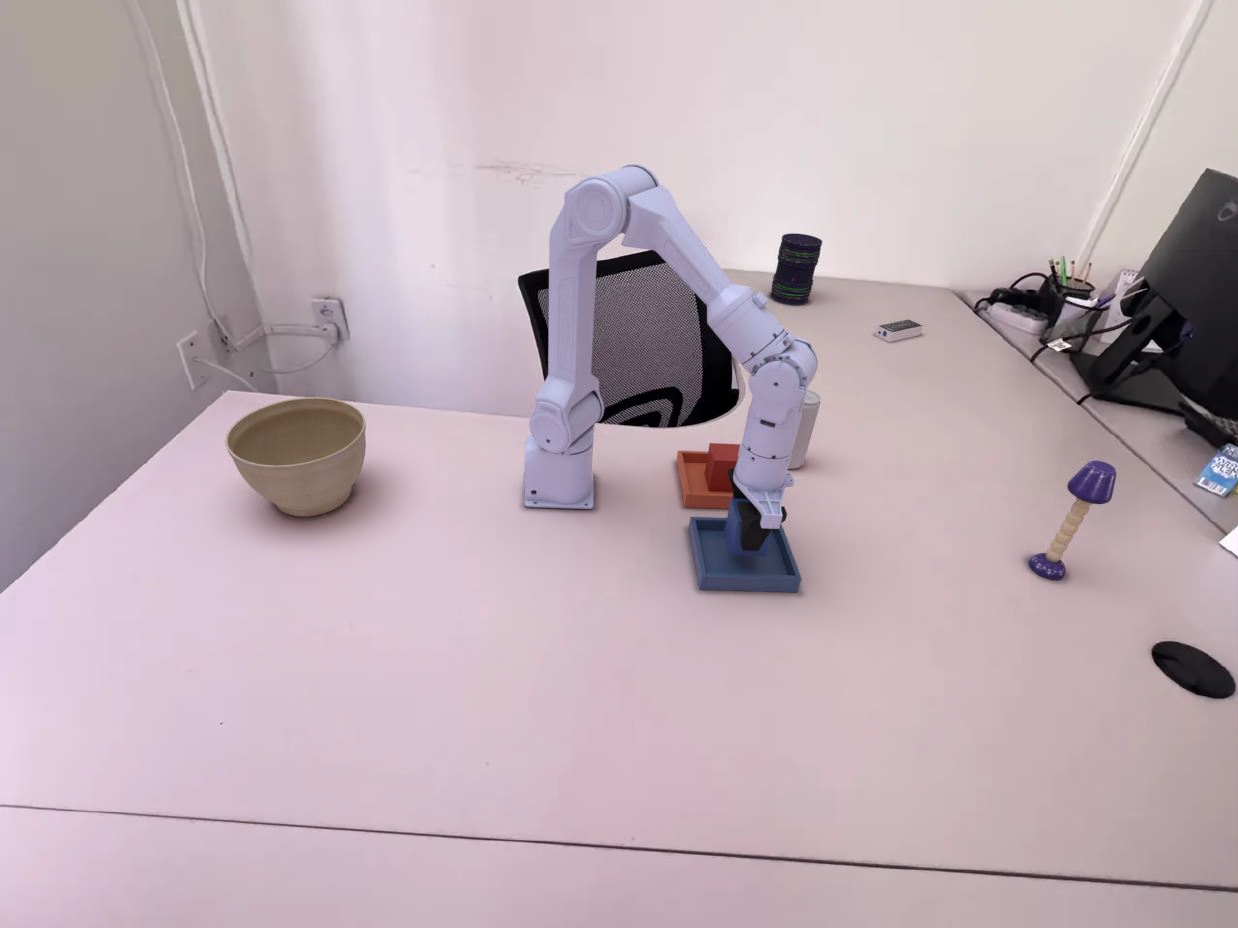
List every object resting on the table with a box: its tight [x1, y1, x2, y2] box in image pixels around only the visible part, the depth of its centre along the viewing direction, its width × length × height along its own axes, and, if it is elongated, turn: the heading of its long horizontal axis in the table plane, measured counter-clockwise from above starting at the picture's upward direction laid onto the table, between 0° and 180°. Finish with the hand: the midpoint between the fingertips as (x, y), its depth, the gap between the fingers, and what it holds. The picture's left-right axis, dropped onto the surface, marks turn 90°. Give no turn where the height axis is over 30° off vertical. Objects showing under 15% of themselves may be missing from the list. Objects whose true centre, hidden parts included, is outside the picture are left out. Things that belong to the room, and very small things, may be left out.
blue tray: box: [688, 516, 802, 593], centre depth 83 cm, size 12×11×2 cm
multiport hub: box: [874, 319, 924, 343], centre depth 151 cm, size 4×11×2 cm, turn 121°
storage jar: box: [769, 232, 823, 306], centre depth 162 cm, size 10×10×15 cm
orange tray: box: [675, 449, 733, 510], centre depth 97 cm, size 12×11×2 cm
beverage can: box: [788, 388, 822, 470], centre depth 100 cm, size 5×5×12 cm
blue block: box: [724, 498, 772, 556], centre depth 81 cm, size 4×4×6 cm
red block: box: [704, 442, 740, 492], centre depth 95 cm, size 4×4×6 cm
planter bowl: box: [224, 396, 367, 517], centre depth 85 cm, size 16×16×11 cm
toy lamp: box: [1028, 459, 1117, 581], centre depth 82 cm, size 5×5×17 cm
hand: (746, 535), depth 82 cm, fingers closed on blue block, 4 cm apart
